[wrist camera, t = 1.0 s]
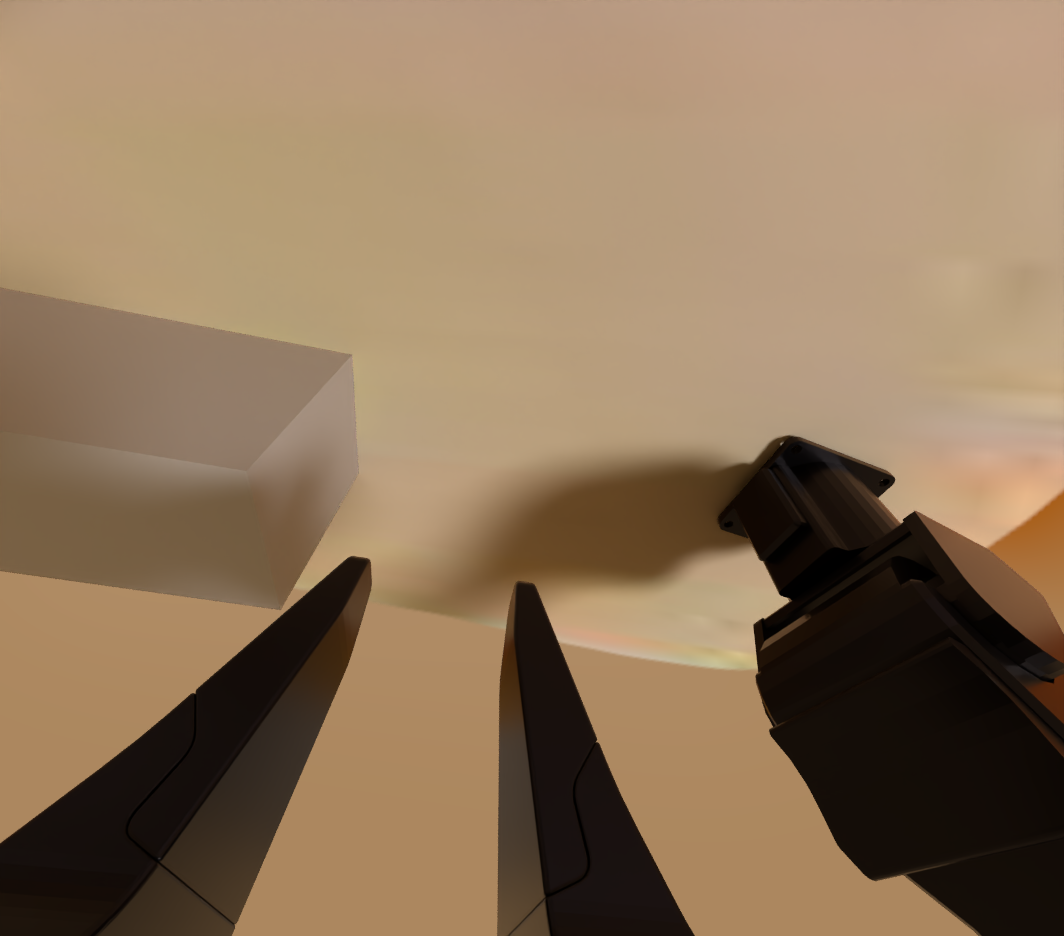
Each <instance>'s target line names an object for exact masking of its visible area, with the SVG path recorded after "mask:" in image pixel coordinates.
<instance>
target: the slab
mask: <svg viewBox="0 0 1064 936" xmlns="http://www.w3.org/2000/svg"><path fill="white" fill-rule="evenodd" d="M358 473H359V469H358V451H357V433H356V414H355V396H354V378H353V359H352V355H351V354H345V353H340V352H335V351H330V350H324V349H319V348H314V347H309V346H303V345H298V344H293V343H288V342H282V341H277V340H272V339H267V338H261V337H256V336H251V335H246V334H240V333H235V332H230V331H225V330H219V329H214V328H209V327H204V326H198V325H193V324H188V323H183V322H177V321H172V320H167V319H162V318H156V317H151V316H146V315H141V314H135V313H130V312H125V311H120V310H114V309H109V308H104V307H99V306H93V305H88V304H83V303H77V302H72V301H67V300H62V299H56V298H51V297H46V296H41V295H35V294H30V293H25V292H20V291H14V290H9V289H4V288H0V571H5V572H12V573H19V574H26V575H34V576H40V577H48V578H55V579H63V580H69V581H76V582H84V583H92V584H98V585H105V586H112V587H119V588H127V589H134V590H141V591H148V592H155V593H163V594H170V595H177V596H185V597H191V598H199V599H206V600H213V601H220V602H227V603H235V604H242V605H249V606H256V607H263V608H271V609H277V610H281V608H282V607H283V605H284V603H285V601H286V600H287V598H288V596H289V594H290V592H291V591H292V589H293V587H294V586H295V584H296V582H297V580H298V579H299V577H300V575H301V573H302V572H303V570H304V568H305V566H306V565H307V563H308V561H309V559H310V558H311V556H312V554H313V552H314V551H315V549H316V547H317V545H318V544H319V542H320V540H321V538H322V537H323V535H324V533H325V531H326V530H327V528H328V526H329V524H330V523H331V521H332V519H333V517H334V516H335V514H336V512H337V510H338V508H339V507H340V505H341V503H342V501H343V500H344V498H345V496H346V494H347V493H348V491H349V489H350V487H351V486H352V484H353V482H354V480H355V479H356V477H357V475H358Z"/></svg>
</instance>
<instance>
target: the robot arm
mask: <svg viewBox="0 0 1064 936" xmlns="http://www.w3.org/2000/svg"><path fill="white" fill-rule="evenodd" d="M797 445H798V446H797ZM794 446H797V447H796V448H795V449H792V448H793V447H794ZM881 480H882V481H881ZM894 482H895V478H894V476H893V475H892V474H891V473H889V472H888V471H886V470H884V469H881V468H878V467H876V466H873V465H871V464H868V463H865V462H863V461H860V460H858V459H855V458H852V457H850V456H847V455H845V454H842V453H839V452H837V451H834V450H832V449H829V448H826V447H824V446H821V445H819V444H816V443H813V442H811V441H808V440H806V439H803V438H800V437H791V438H789V439H787V440H786V441H785V442H784V443H783V444H782V445H781V447H780V448H779V449H778V450H777V451H776V452H775V453H774V455H773V456H772V457H771V458H770V459H769V460H768V461H767V463H766V464H765V465H764V466H763V467H762V468H761V469H760V471H759V472H758V473H757V474H756V475H755V476H754V477H753V479H752V480H751V481H750V482H749V483H748V484H747V485H746V487H745V488H744V489H743V490H742V491H741V492H740V493H739V495H738V496H737V497H736V498H735V499H734V500H733V501H732V503H731V504H730V505H729V506H728V507H727V508H726V509H725V511H724V512H723V513H722V514H721V515H720V516H719V518H718V520H717V522H718V524H719V527H720V528H721V529H722V530H724V531H727V532H730V533H734V534H737V535H740V536H743V537H746V538H749V540H750V542H751V544H752V546H753V548H754V550H755V552H756V554H757V556H758V558H759V560H760V561H763V562H764V564H765V566H766V568H767V570H768V573H769V575H770V577H771V579H772V581H773V583H774V585H775V587H776V589H777V591H778V593H779V595H781V596H783V597H787V598H788V600H789V601H790V602H788V603H787V604H786V605H784V606H783V607H781V608H780V609H778V610H777V611H776V612H774V613H773V614H771V615H770V616H768V617H767V618H766V619H764V618H762V619H760V620H759V621H758V622H756V623H755V624H754V625H753V626H754V636H755V645H756V655H757V664H758V673H757V674H756V684H757V687H758V690H759V693H760V696H761V699H762V703H763V706H764V708H765V712H766V715H767V716H768V718H769V720H770V722H771V723H772V726H773V728H771V729H770V730H769V732H770V735H771V737H772V738H773V739H774V740H775V742H776V743H777V744H778V745H779V746H780V748H781V749H782V750H783V751H784V752H785V754H786V755H787V756H788V757H789V758H790V760H791V761H792V763H793V764H794V766H795V767H796V769H797V770H798V772H799V773H800V775H801V776H802V778H803V779H804V781H805V782H806V784H807V786H808V788H809V789H810V791H811V793H812V795H813V797H814V799H815V801H816V803H817V805H818V807H819V809H820V811H821V813H822V815H823V817H824V819H825V821H826V823H827V825H828V827H829V829H830V831H831V833H832V835H833V837H834V839H835V841H836V843H837V845H838V846H839V848H840V849H841V850H842V851H843V852H844V853H845V854H846V855H847V857H848V858H849V859H850V860H851V861H852V862H853V863H854V864H855V865H856V866H857V867H858V868H859V869H860V870H861V872H862V873H863V874H864V875H865V876H867V877H868V878H869V879H871V880H874V881H878V880H883V879H887V878H892V877H896V876H900V875H904V876H905V877H906V878H908V879H909V880H910V881H912V882H913V883H914V884H915V885H916V886H918V887H919V888H920V889H922V890H923V891H924V892H925V893H926V894H928V895H929V896H930V897H932V898H933V899H934V900H935V901H937V902H938V903H939V904H940V905H942V906H943V907H944V908H945V909H947V910H948V911H949V912H950V913H952V914H953V915H954V916H955V917H957V918H958V919H959V920H960V921H962V922H963V923H964V924H966V925H967V926H968V927H969V928H971V929H972V930H973V931H974V932H975V933H976V934H977V935H978V936H1064V634H1063V632H1062V630H1061V628H1060V626H1059V625H1058V623H1057V621H1056V619H1055V617H1054V615H1053V613H1052V612H1051V609H1050V608H1049V606H1048V604H1047V602H1046V600H1045V598H1044V597H1043V596H1042V595H1041V594H1040V593H1039V592H1038V591H1037V590H1036V589H1035V588H1034V587H1033V586H1031V585H1030V584H1029V583H1028V582H1027V581H1025V580H1024V579H1023V578H1022V577H1021V576H1020V575H1018V574H1017V573H1016V572H1015V571H1014V570H1013V569H1011V568H1010V567H1009V566H1008V565H1006V564H1005V563H1004V562H1003V561H1002V560H1000V558H998V557H997V556H996V555H995V554H994V553H992V552H991V551H990V550H988V549H987V548H985V547H983V546H981V545H979V544H977V543H975V542H973V541H972V540H970V539H968V538H966V537H964V536H962V535H960V534H958V533H957V532H955V531H953V530H951V529H949V528H947V527H945V526H943V525H942V524H940V523H938V522H936V521H934V520H932V519H930V518H928V517H927V516H925V515H923V514H921V513H919V512H917V511H914V512H913V513H911V514H910V515H908V516H907V517H906V518H904V519H903V521H904V522H903V523H900V522H899V521H898V520H897V519H896V518H895V517H894V515H893V514H892V513H891V512H890V511H889V510H888V509H887V508H886V507H885V505H884V504H883V503H882V502H881V501H880V500H879V499H878V497H879V496H881V495H882V494H883V493H884V492H885V491H886V490H887V489H889V488H890V487H891V486H892V485H893V484H894ZM727 521H729V522H727ZM725 522H727V523H725ZM371 585H372V578H371V562H370V560H369V559H368V558H363V557H356V556H351V557H348V558H347V559H346V560H345V561H343V562H342V563H341V564H340V565H339V566H338V567H337V568H335V569H334V570H333V571H332V572H331V573H330V574H329V575H327V576H326V577H325V578H324V579H323V580H322V581H321V582H319V583H318V584H317V585H316V586H315V587H314V588H312V589H311V590H310V591H309V592H308V593H307V594H306V595H305V596H303V597H302V598H301V599H300V600H299V601H298V602H297V603H295V604H294V605H293V606H292V607H291V608H290V609H288V610H287V611H286V612H285V613H284V614H283V615H281V616H280V617H279V618H278V619H277V620H276V621H275V622H273V623H272V624H271V625H270V626H269V627H268V628H267V629H265V630H264V631H263V632H262V633H261V634H260V635H258V637H256V638H255V639H254V640H253V641H252V642H250V643H249V644H248V645H247V646H246V647H245V648H244V649H243V650H241V651H240V652H239V653H238V654H237V655H236V656H234V657H233V658H232V659H231V660H230V661H229V662H227V664H225V665H224V666H223V667H222V668H221V669H219V671H217V672H216V673H215V674H214V675H213V676H211V677H210V678H209V679H208V680H207V681H206V682H204V683H203V684H202V685H201V686H200V687H199V688H198V689H197V690H196V694H194V693H192V694H190V695H189V696H188V697H187V698H186V699H185V700H184V701H182V702H181V703H180V704H179V705H178V706H177V707H176V708H174V709H173V710H172V711H171V712H170V713H169V714H167V715H166V716H165V717H164V718H163V719H161V720H160V721H159V722H158V723H157V724H156V725H154V726H153V727H152V728H151V729H150V730H148V731H147V732H146V733H145V734H143V735H142V736H141V737H140V738H139V739H137V740H136V741H135V742H134V743H132V744H131V745H130V746H128V747H127V748H126V749H125V750H123V751H122V752H121V753H119V754H118V755H117V756H116V757H114V758H113V759H112V760H110V761H109V762H108V763H106V764H105V765H104V766H103V767H102V768H100V769H99V770H97V771H96V772H95V773H93V774H92V775H91V776H89V777H88V778H87V779H85V780H84V781H83V782H81V783H80V784H79V785H77V786H76V787H75V788H73V789H72V790H71V791H69V792H68V793H67V794H66V795H64V796H63V797H61V798H60V799H59V800H57V801H56V802H55V803H53V804H52V805H51V806H49V807H48V808H47V809H45V810H44V811H43V812H41V813H40V814H39V815H38V816H36V817H35V818H33V819H32V820H31V821H29V822H28V823H27V824H25V825H24V826H23V827H21V828H20V829H19V830H17V831H16V832H15V833H13V834H12V835H11V836H10V837H8V838H7V839H5V840H4V841H3V842H2V843H0V936H232V934H233V931H234V929H235V924H236V923H237V921H238V919H239V917H240V915H241V912H242V910H243V908H244V905H245V903H246V901H247V898H248V896H249V894H250V891H251V889H252V887H253V885H254V882H255V880H256V878H257V875H258V873H259V871H260V868H261V866H262V864H263V861H264V859H265V857H266V854H267V852H268V850H269V847H270V845H271V843H272V840H273V838H274V836H275V833H276V831H277V829H278V826H279V824H280V822H281V819H282V817H283V815H284V812H285V810H286V808H287V806H288V803H289V801H290V799H291V796H292V794H293V792H294V789H295V787H296V785H297V782H298V780H299V778H300V775H301V773H302V771H303V768H304V766H305V764H306V761H307V759H308V757H309V754H310V752H311V750H312V747H313V745H314V743H315V740H316V738H317V736H318V734H319V731H320V729H321V727H322V724H323V722H324V720H325V717H326V715H327V713H328V710H329V708H330V706H331V703H332V701H333V699H334V697H335V694H336V691H337V689H338V687H339V685H340V682H341V680H342V678H343V675H344V673H345V671H346V668H347V666H348V663H349V660H350V657H351V654H352V651H353V648H354V644H355V641H356V638H357V635H358V631H359V628H360V625H361V621H362V618H363V615H364V611H365V608H366V605H367V602H368V598H369V595H370V591H371ZM596 741H597V737H596V735H595V732H594V730H593V727H592V725H591V722H590V720H589V717H588V715H587V712H586V710H585V708H584V705H583V702H582V700H581V697H580V695H579V693H578V690H577V687H576V685H575V683H574V680H573V678H572V675H571V673H570V670H569V668H568V665H567V663H566V660H565V658H564V655H563V653H562V650H561V648H560V645H559V643H558V640H557V638H556V635H555V633H554V630H553V628H552V625H551V623H550V620H549V618H548V616H547V613H546V611H545V608H544V606H543V603H542V601H541V598H540V596H539V593H538V591H537V588H536V586H535V585H534V584H533V583H529V582H522V581H517V582H516V583H515V586H514V589H513V593H512V597H511V601H510V605H509V611H508V618H507V626H506V634H505V643H504V650H503V658H502V666H501V676H500V694H499V807H498V811H499V812H498V813H499V814H498V817H499V818H498V925H497V926H498V927H497V936H695V935H694V934H693V932H692V930H691V929H690V927H689V925H688V924H687V922H686V920H685V918H684V916H683V915H682V913H681V911H680V909H679V907H678V905H677V903H676V901H675V899H674V898H673V896H672V894H671V892H670V890H669V888H668V886H667V884H666V882H665V880H664V879H663V876H662V874H661V873H660V871H659V869H658V867H657V865H656V863H655V861H654V859H653V857H652V855H651V853H650V851H649V849H648V848H647V846H646V844H645V842H644V840H643V838H642V836H641V834H640V832H639V830H638V828H637V826H636V824H635V822H634V820H633V818H632V816H631V814H630V812H629V810H628V808H627V806H626V804H625V802H624V800H623V798H622V796H621V794H620V792H619V789H618V787H617V785H616V782H615V780H614V778H613V776H612V773H611V771H610V768H609V766H608V764H607V762H606V759H605V757H604V754H603V751H602V749H601V747H600V744H599V743H598V742H596Z"/></svg>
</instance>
